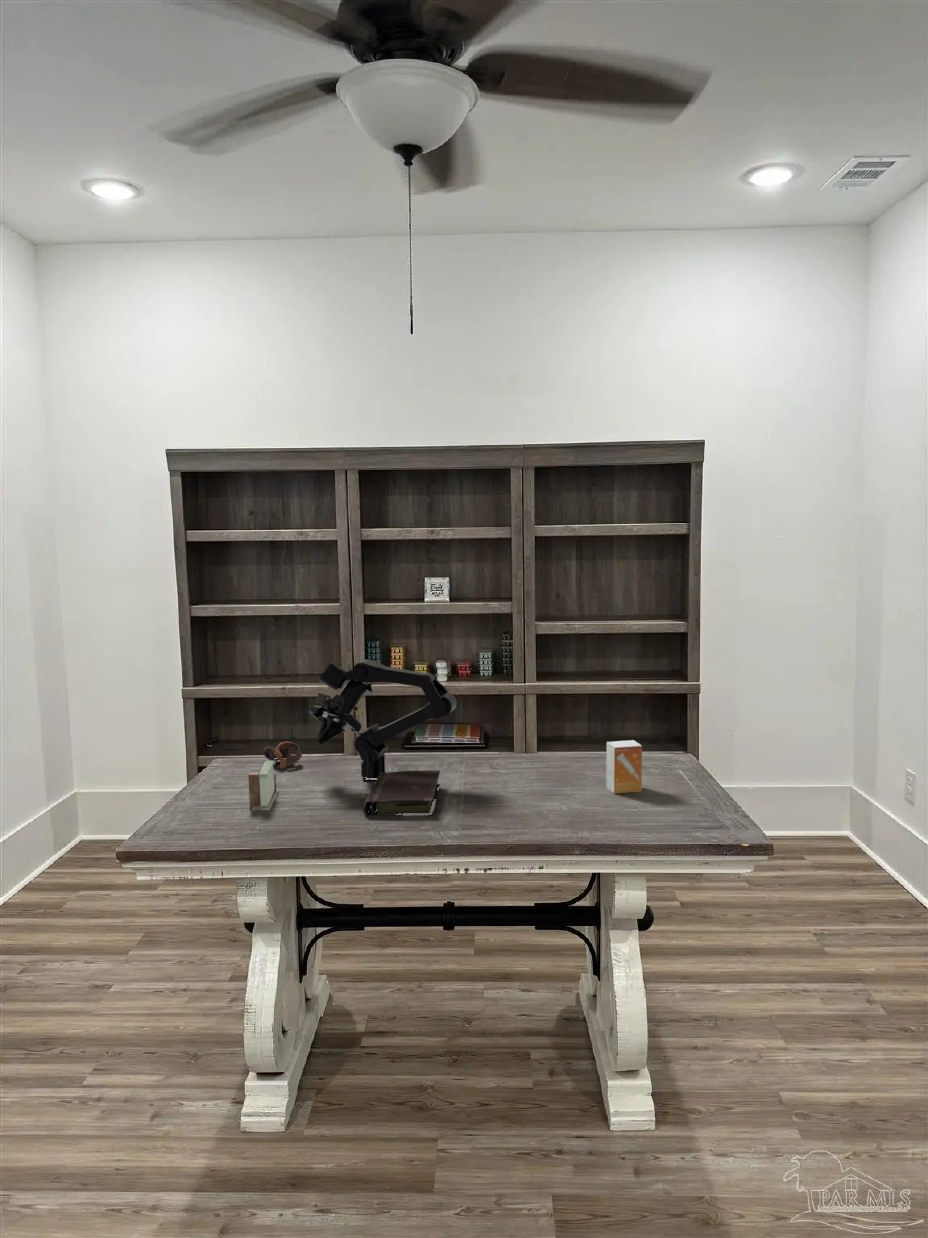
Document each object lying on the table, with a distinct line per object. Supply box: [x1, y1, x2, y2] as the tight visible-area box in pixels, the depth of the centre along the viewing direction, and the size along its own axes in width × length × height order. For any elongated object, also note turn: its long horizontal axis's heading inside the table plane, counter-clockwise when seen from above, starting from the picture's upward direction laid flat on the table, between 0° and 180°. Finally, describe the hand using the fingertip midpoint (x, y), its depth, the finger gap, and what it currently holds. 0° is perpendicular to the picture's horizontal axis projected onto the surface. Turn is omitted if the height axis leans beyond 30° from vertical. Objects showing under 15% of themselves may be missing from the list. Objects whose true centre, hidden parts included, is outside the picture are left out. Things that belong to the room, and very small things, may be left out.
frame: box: [247, 771, 280, 812], centre depth 235 cm, size 6×17×9 cm, turn 3°
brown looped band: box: [262, 741, 303, 770], centre depth 268 cm, size 12×10×8 cm
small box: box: [605, 739, 643, 795], centre depth 238 cm, size 8×6×13 cm
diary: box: [362, 769, 441, 816], centre depth 233 cm, size 19×25×5 cm
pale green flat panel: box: [259, 760, 275, 806], centre depth 233 cm, size 13×2×8 cm, turn 5°
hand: (318, 743), depth 245 cm, fingers closed
